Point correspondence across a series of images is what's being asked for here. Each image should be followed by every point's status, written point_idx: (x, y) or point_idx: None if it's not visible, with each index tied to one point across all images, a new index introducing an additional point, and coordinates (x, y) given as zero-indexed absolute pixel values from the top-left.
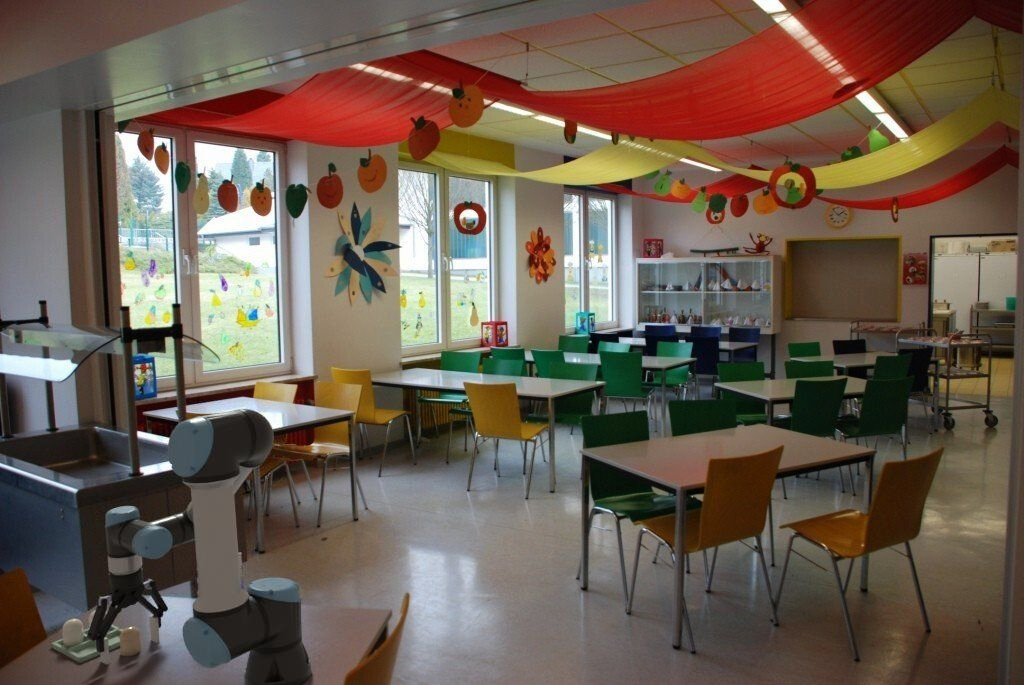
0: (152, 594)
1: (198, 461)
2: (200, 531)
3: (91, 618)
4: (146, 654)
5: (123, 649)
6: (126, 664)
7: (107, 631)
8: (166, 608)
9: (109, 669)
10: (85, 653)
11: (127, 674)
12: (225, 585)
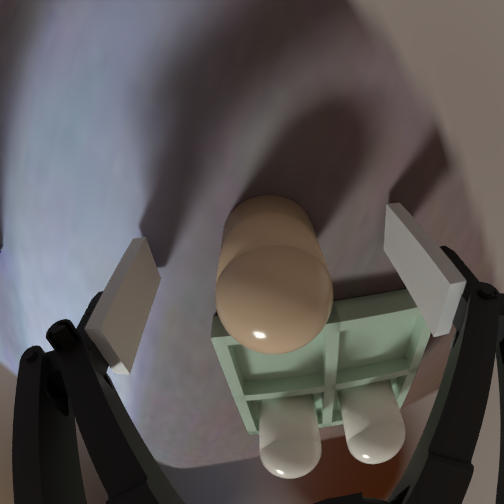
0: (62, 496)
1: None
2: None
3: (319, 455)
4: (217, 175)
5: (318, 243)
6: (332, 150)
7: (471, 320)
8: (25, 357)
9: (400, 168)
10: (382, 337)
11: (374, 50)
12: None
